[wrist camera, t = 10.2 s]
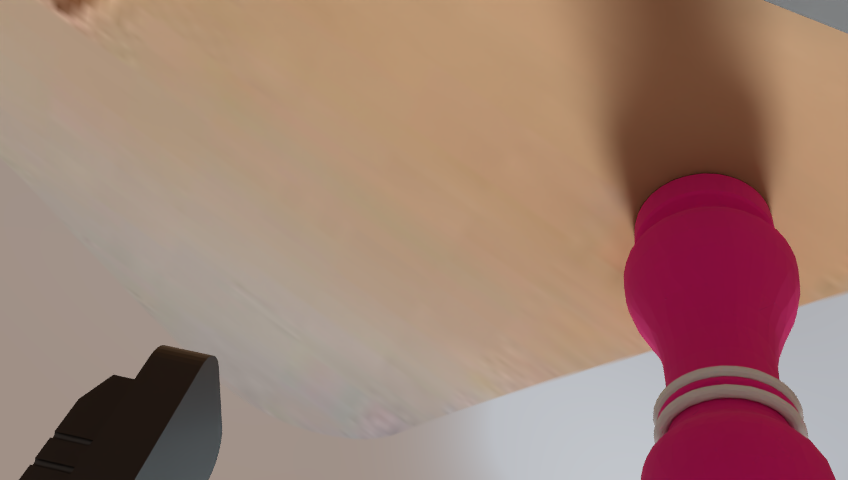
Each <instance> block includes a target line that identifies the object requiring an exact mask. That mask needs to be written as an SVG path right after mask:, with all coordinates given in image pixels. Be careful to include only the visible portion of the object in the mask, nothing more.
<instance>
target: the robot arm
mask: <svg viewBox="0 0 848 480" xmlns="http://www.w3.org/2000/svg"><path fill="white" fill-rule="evenodd" d="M221 437H222V419H221V400H220V382H219V366H218V361H217V358H216V357H215V356H212V355H207V354H202V353H198V352H193V351H189V350H184V349H179V348H175V347H170V346H165V345H162V346H160V347H158V348H157V349H156V350H155V351H154V352H153V353H152V354H151V356H150V357H149V359H148V360H147V362H146V363H145V365H144V366H143V367H142V369H141V370H140V372H139V373H138V375H137V376H136V378H135V379H130V378H126V377H121V376H117V375H113V376H111V377H110V378H108V379H107V380H105V381H104V382H103V383H101V384H100V385H98V386H97V387H95V388H94V389H93V390H91V391H90V392H88V393H87V394H85V395H84V396H83V397H81V398H80V399H78V401H77V402H76V403H75V405H74V406H73V408H72V409H71V410H70V412H69V413H68V414H67V416H66V417H65V418H64V420H63V421H62V422H61V424H60V425H59V426H58V428H57V429H56V430H55V435H54V437H53V438H50V439H49V440H48V441H47V443H46V444H45V445H44V447H43V448H42V449H41V451H40V452H39V453H38V455H37V456H36V458H35V462H34V464H33V465H30V466H29V467H28V468H27V470H26V471H25V472H24V474H23V475H22V476H21V478H20V479H19V480H208V479H209V477H210V475H211V473H212V471H213V468H214V466H215V463H216V460H217V456H218V453H219V448H220V444H221Z"/></svg>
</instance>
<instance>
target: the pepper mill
mask: <svg viewBox="0 0 848 480" xmlns="http://www.w3.org/2000/svg"><path fill="white" fill-rule="evenodd" d="M624 289H625V296H626V303H627V306H628V310H629V313H630V315H631V317H632V319H633V321H634V323H635V325H636V327H637V329H638V331H639V333H640V334H641V336H642V337H643V338H644V339H645V341H646V342H647V343H648V345H649V346H650V347H651V348H652V350H653V351H654V352H655V353H656V354H657V355H658V357H659V358H660V359H661V361H662V364H663V368H664V375H665V381H666V388H665V389H664V390H663V391H662V393H661V394H660V396H659V398H658V399H657V401H656V404H655V406H654V415H653V416H654V417H653V418H654V419H653V421H654V424H655V429H654V439H655V445H654V446H653V447H652V449H651V451H650V453H649V454H648V456H647V458H646V460H645V463H644V466H643V471H642V475H641V480H836V479H835V477H834V475H833V472H832V471H831V468H830V466H829V463H828V461H827V459H826V458H825V457H824V456H823V455H822V454H821V453H820V451H819V450H818V449H817V448H816V447H815V445H814V444H813V443H812V442H811V441H810V440H809V439H808V433H807V428H806V425H805V423H804V421H803V410H802V407H801V404H800V402H799V400H798V399H797V397H796V396H795V394H794V392H792V390H791V389H789V387H788V386H786V385H785V384H784V383H783V382H781V381H780V380H779V373H778V363H779V357H780V354H781V352H782V349H783V346H784V344H785V341H786V339H787V337H788V335H789V333H790V331H791V328H792V327H793V325H794V322H795V318H796V315H797V309H798V304H799V298H800V282H799V272H798V266H797V262H796V258H795V256H794V253H793V251H792V249H791V247H790V246H789V244H788V243H787V241H786V239H785V238H784V237H783V236H782V235H781V234H780V233H779V232H778V230H776V229H775V228H774V224H773V220H772V216H771V213H770V210H769V207H768V205H767V203H766V202H765V200H764V199H763V198H762V196H761V195H760V194H759V193H758V192H757V191H756V190H755V189H754V188H752V187H751V186H749V185H748V184H746V183H744V182H742V181H740V180H738V179H735V178H732V177H729V176H725V175H721V174H706V173H701V174H695V175H689V176H685V177H682V178H679V179H676V180H673V181H671V182H669V183H667V184H665V185H663V186H662V187H660V188H659V189H658V190H656V191H655V192H654V193H652V194H651V195H650V197H649V198H648V199H647V200H646V201H645V202H644V204H643V205H642V207H641V209H640V211H639V213H638V216H637V219H636V223H635V245H634V247H633V248H632V249H631V251H630V254H629V257H628V259H627V262H626V266H625V271H624Z"/></svg>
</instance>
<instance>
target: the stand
mask: <svg viewBox="0 0 848 480" xmlns="http://www.w3.org/2000/svg"><path fill="white" fill-rule="evenodd" d="M764 1H767V2H769V3H772V4H775V5H777V6H780V7H782V8H785V9H787V10H790V11H792V12H795V13H797V14H800V15H802V16H805V17H807V18H810V19H813V20H815V21H818V22H820V23H823V24H825V25H828V26H830V27H833V28H835V29H838V30H840V31H843V32H845V33H848V0H764Z"/></svg>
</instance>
